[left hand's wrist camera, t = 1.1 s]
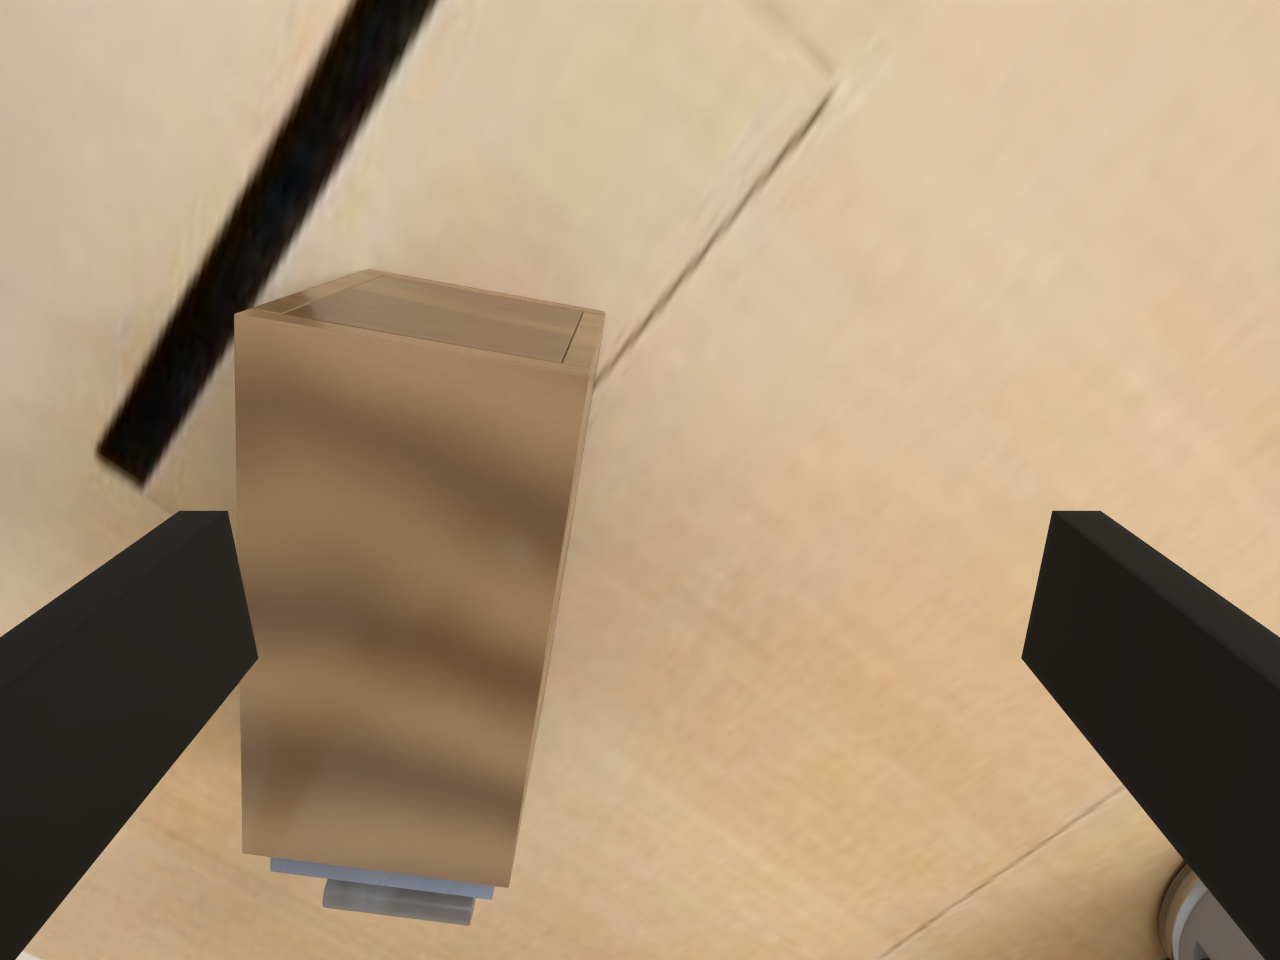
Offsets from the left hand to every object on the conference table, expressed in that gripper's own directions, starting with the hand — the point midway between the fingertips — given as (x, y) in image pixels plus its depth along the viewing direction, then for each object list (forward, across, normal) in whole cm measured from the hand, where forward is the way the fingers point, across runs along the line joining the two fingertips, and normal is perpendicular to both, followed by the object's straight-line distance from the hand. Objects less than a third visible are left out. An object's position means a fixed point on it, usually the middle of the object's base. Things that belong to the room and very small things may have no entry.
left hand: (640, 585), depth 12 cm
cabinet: (+22, -8, -8) cm, 24 cm away
